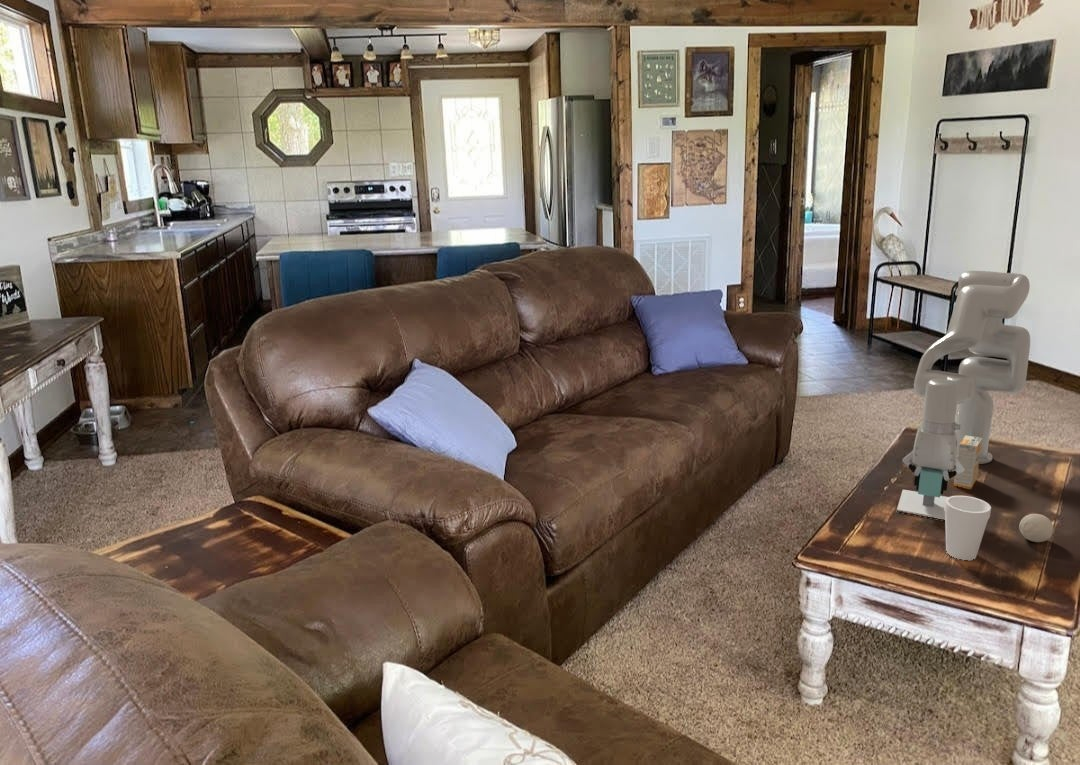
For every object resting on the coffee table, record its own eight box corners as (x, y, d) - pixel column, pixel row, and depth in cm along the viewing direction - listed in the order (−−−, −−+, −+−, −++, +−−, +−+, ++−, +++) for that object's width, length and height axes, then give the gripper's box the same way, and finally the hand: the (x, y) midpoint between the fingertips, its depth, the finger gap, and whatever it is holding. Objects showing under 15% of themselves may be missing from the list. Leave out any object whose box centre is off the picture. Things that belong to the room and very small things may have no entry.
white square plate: (902, 492, 220) (904, 470, 219) (958, 501, 214) (961, 479, 212) (896, 512, 209) (899, 489, 207) (955, 522, 202) (958, 499, 200)
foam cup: (944, 540, 193) (951, 492, 190) (987, 551, 188) (994, 501, 184) (934, 556, 186) (941, 506, 183) (978, 568, 181) (985, 516, 177)
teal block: (919, 486, 213) (922, 464, 211) (941, 490, 211) (944, 467, 209) (917, 493, 209) (920, 470, 207) (939, 497, 206) (942, 474, 205)
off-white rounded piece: (1010, 537, 194) (1013, 512, 192) (1031, 531, 197) (1035, 507, 195) (1035, 549, 188) (1039, 524, 186) (1057, 543, 190) (1061, 518, 189)
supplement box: (972, 490, 220) (978, 446, 217) (953, 486, 223) (958, 443, 219) (977, 480, 227) (983, 437, 223) (958, 476, 229) (964, 434, 226)
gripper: (975, 426, 204) (966, 491, 209) (903, 417, 212) (896, 479, 217) (974, 435, 197) (965, 501, 203) (900, 425, 206) (893, 489, 211)
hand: (929, 489), depth 210 cm, fingers closed on teal block, 5 cm apart
